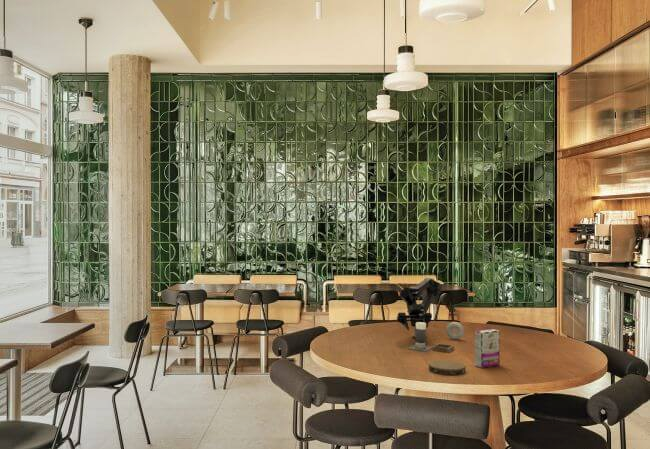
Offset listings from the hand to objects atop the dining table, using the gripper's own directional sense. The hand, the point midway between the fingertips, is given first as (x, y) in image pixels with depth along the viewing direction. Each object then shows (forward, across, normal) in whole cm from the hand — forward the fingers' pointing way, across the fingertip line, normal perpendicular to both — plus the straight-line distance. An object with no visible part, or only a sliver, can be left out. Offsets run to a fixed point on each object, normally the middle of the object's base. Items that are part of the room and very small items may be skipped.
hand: (416, 330), depth 308 cm
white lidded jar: (+11, 0, 0) cm, 11 cm away
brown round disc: (+43, 0, -32) cm, 53 cm away
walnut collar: (+14, +11, -2) cm, 18 cm away
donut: (-4, +26, +16) cm, 31 cm away
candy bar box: (+37, +22, -26) cm, 50 cm away
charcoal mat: (+12, 0, 0) cm, 12 cm away
